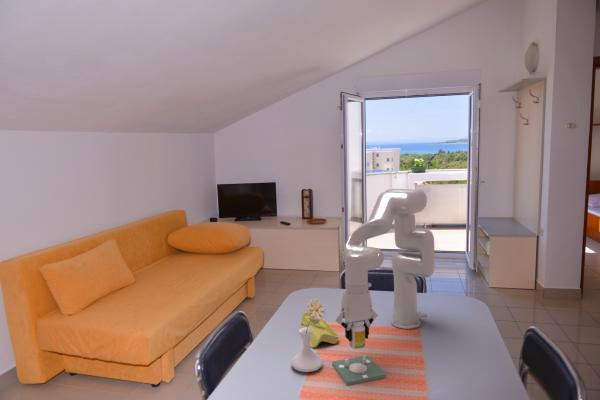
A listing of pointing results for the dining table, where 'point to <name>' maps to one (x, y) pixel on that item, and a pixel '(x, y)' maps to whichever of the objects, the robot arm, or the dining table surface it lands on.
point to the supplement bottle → (357, 335)
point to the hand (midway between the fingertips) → (357, 337)
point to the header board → (358, 370)
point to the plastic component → (319, 331)
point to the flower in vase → (307, 357)
